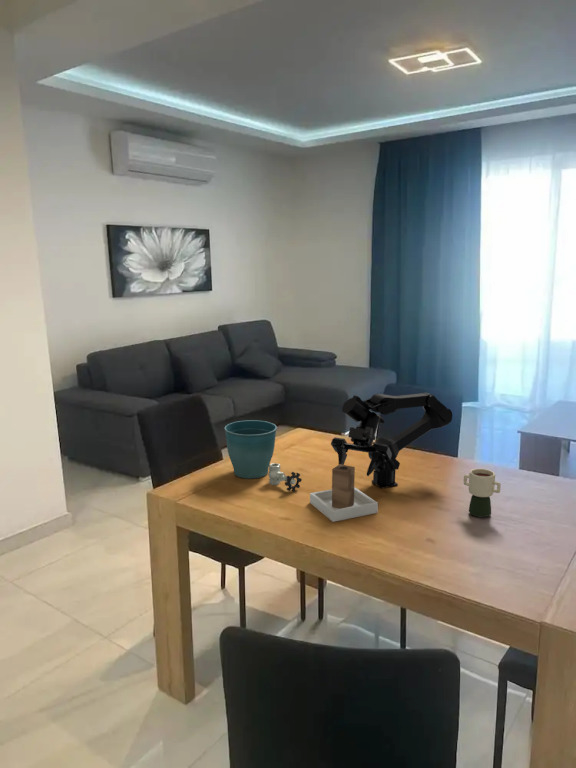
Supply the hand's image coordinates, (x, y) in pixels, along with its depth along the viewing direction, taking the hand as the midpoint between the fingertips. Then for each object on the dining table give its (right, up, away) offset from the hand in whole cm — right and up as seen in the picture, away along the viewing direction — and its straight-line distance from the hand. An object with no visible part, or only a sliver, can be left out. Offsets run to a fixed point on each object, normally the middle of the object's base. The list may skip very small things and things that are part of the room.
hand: (353, 473), depth 178 cm
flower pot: (-33, -4, +26) cm, 42 cm away
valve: (-22, -7, +14) cm, 27 cm away
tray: (-3, -10, -3) cm, 11 cm away
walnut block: (-4, -9, -3) cm, 10 cm away
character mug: (+36, -11, -8) cm, 39 cm away
